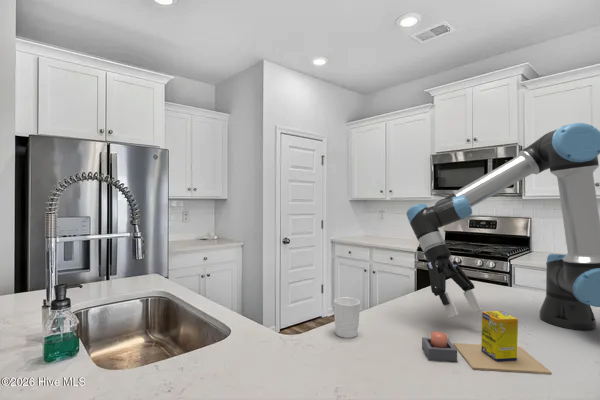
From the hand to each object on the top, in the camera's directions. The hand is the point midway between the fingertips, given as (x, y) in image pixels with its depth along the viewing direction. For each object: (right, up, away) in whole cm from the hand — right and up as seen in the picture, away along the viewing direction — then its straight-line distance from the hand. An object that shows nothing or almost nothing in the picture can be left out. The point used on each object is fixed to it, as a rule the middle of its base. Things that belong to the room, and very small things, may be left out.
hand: (466, 313), depth 102 cm
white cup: (-35, -7, +3) cm, 36 cm away
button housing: (-12, -8, -10) cm, 18 cm away
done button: (-12, -6, -10) cm, 17 cm away
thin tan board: (+3, -8, -12) cm, 14 cm away
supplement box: (+3, -8, -12) cm, 14 cm away
